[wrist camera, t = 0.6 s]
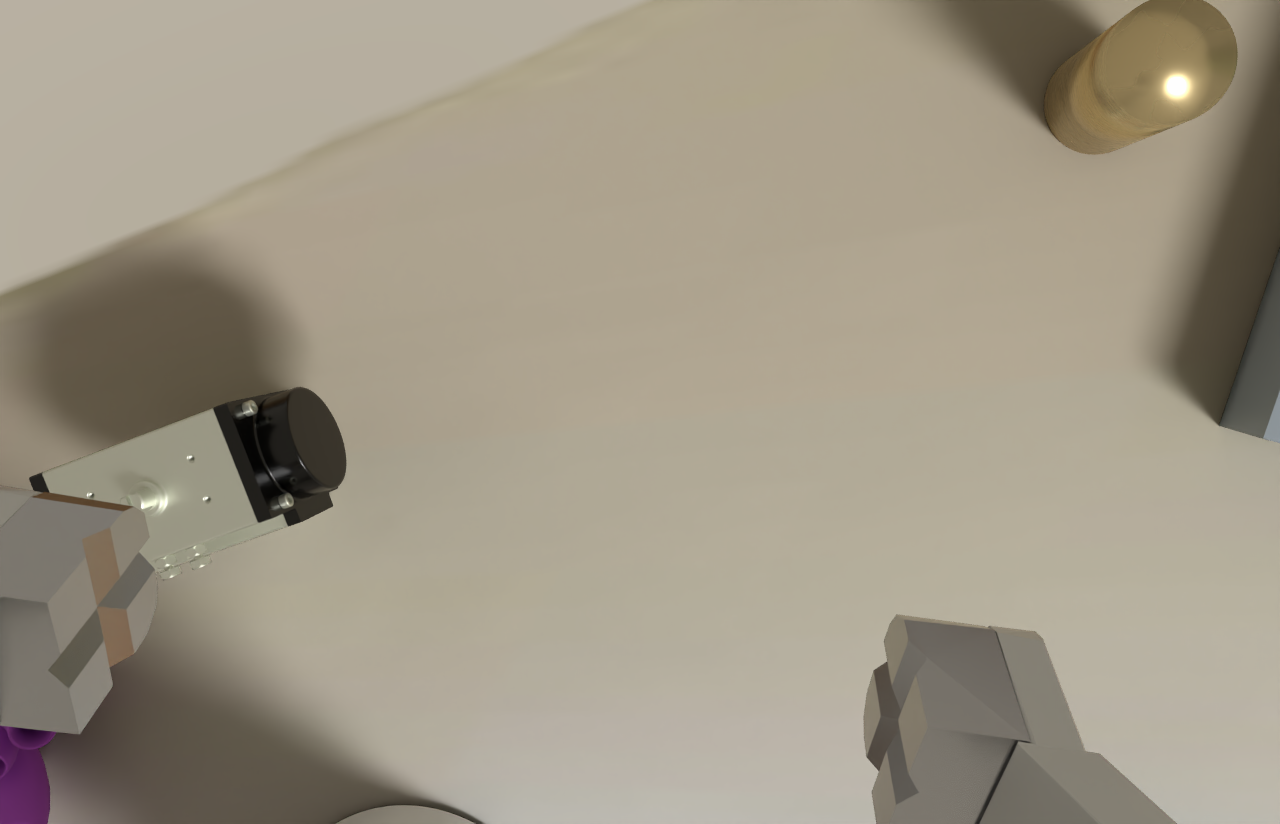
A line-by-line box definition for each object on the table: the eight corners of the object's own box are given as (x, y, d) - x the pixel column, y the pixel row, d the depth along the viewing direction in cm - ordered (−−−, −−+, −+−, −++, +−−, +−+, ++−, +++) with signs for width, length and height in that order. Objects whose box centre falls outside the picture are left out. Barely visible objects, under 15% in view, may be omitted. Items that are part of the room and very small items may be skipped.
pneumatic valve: (158, 447, 51) (-25, 494, 39) (370, 368, 49) (245, 392, 37) (200, 551, 51) (31, 629, 39) (411, 476, 49) (300, 534, 38)
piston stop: (1132, 165, 44) (1213, 137, 36) (1030, 141, 44) (1088, 108, 36) (1165, 61, 43) (1255, 10, 35) (1061, 37, 44) (1127, -18, 36)
